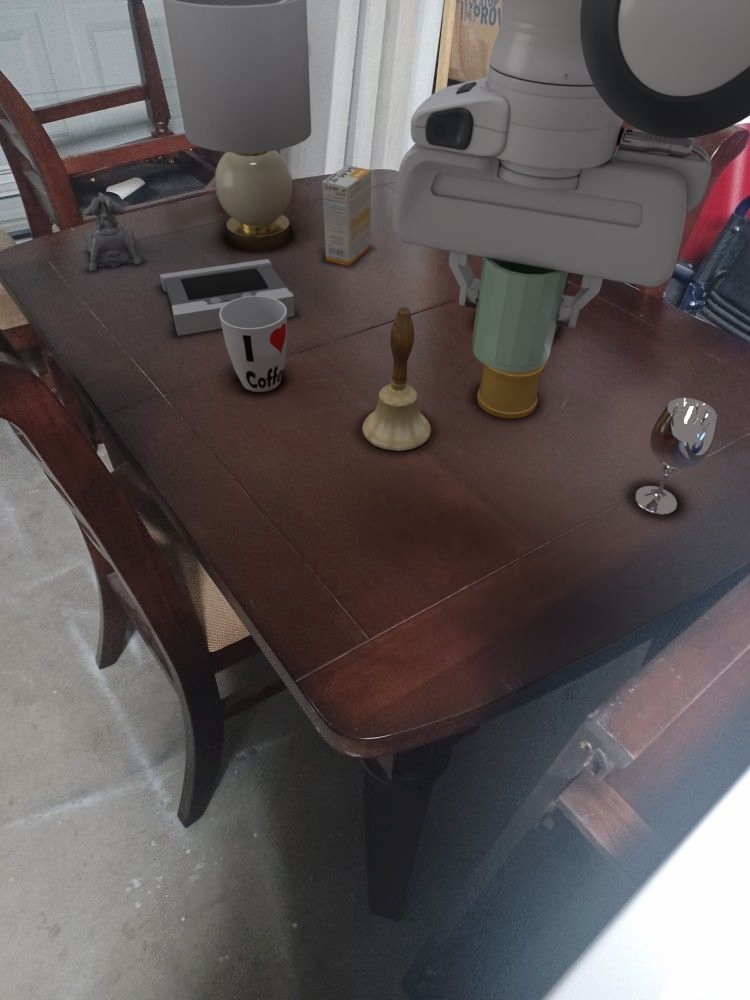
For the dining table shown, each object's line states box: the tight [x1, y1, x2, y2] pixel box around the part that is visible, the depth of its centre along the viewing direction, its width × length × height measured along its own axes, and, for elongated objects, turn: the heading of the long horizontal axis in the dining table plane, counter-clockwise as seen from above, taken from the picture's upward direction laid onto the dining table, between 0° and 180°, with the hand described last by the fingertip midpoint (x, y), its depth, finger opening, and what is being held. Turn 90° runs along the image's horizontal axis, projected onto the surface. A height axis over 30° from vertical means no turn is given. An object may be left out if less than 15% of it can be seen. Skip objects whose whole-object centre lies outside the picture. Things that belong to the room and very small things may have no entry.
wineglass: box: [634, 397, 718, 516], centre depth 72 cm, size 6×6×12 cm
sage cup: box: [471, 257, 570, 373], centre depth 54 cm, size 6×6×8 cm
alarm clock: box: [159, 258, 296, 337], centre depth 105 cm, size 17×5×16 cm
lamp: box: [162, 0, 312, 252], centre depth 110 cm, size 20×20×35 cm
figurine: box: [82, 191, 143, 272], centre depth 113 cm, size 8×10×11 cm
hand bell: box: [361, 306, 432, 452], centre depth 79 cm, size 8×8×16 cm
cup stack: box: [476, 362, 546, 420], centre depth 85 cm, size 8×8×11 cm
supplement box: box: [321, 164, 372, 267], centre depth 114 cm, size 8×5×13 cm, turn 153°
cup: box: [219, 296, 288, 393], centre depth 88 cm, size 8×8×10 cm
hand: (516, 313), depth 54 cm, fingers closed on sage cup, 6 cm apart
